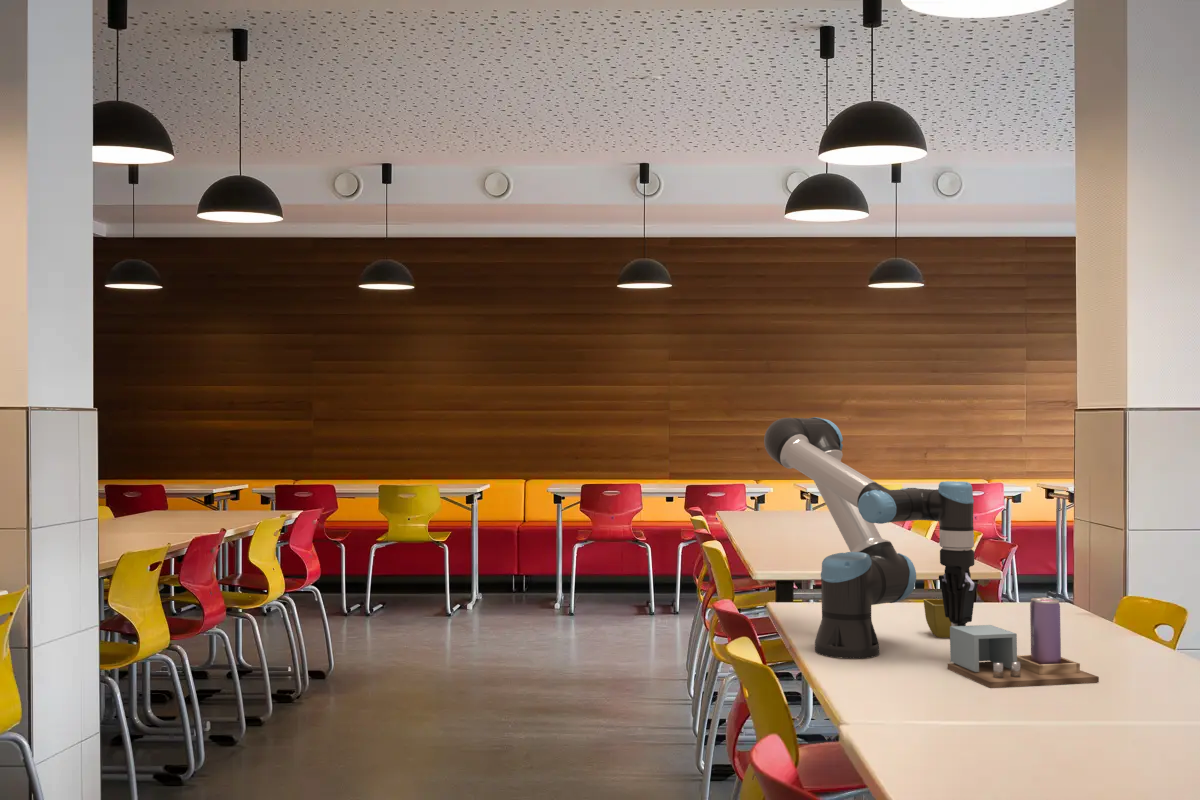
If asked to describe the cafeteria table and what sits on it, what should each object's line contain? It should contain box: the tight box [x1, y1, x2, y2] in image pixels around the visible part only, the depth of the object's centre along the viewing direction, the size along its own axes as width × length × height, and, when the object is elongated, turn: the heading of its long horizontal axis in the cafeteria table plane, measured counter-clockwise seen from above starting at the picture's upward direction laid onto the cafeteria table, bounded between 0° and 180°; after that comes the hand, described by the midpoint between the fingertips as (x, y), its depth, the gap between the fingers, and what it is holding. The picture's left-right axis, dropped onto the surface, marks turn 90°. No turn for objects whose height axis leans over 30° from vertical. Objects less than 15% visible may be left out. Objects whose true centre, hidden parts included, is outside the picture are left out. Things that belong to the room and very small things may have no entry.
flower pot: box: [923, 598, 951, 639], centre depth 256 cm, size 9×9×9 cm
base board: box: [946, 654, 1100, 689], centre depth 214 cm, size 25×17×3 cm
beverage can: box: [1029, 597, 1062, 665], centre depth 215 cm, size 6×6×15 cm
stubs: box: [993, 661, 1021, 678], centre depth 208 cm, size 6×2×3 cm, turn 100°
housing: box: [949, 624, 1018, 672], centre depth 217 cm, size 10×10×8 cm
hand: (958, 651), depth 227 cm, fingers closed
